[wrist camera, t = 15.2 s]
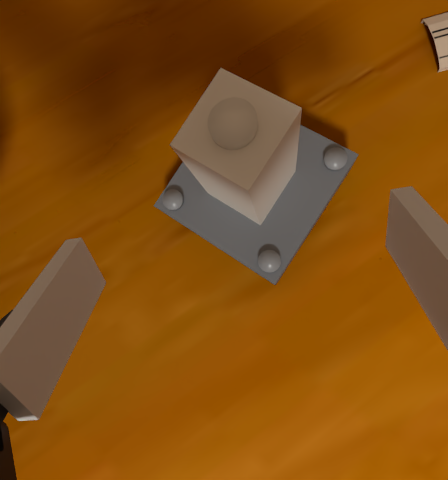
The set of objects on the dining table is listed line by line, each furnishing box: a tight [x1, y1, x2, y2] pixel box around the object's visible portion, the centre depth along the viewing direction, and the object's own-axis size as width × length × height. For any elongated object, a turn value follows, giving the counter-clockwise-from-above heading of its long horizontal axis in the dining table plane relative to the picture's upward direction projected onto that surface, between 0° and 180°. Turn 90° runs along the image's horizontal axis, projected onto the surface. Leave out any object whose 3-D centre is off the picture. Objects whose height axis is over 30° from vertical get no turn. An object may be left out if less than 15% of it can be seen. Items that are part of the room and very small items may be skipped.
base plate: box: [154, 125, 358, 285], centre depth 33 cm, size 14×14×5 cm
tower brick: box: [170, 68, 302, 225], centre depth 25 cm, size 6×6×12 cm
